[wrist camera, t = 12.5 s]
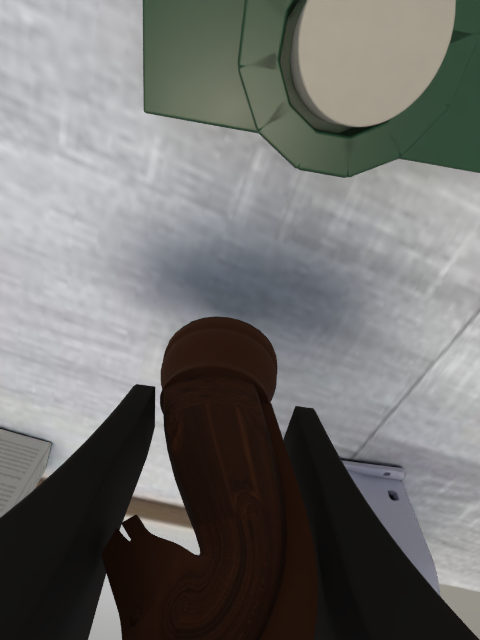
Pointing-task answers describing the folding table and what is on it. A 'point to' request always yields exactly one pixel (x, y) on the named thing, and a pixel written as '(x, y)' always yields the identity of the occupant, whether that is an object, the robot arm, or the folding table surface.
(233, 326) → the chess piece
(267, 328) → the folding table surface
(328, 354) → the folding table surface
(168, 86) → the push button base
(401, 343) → the folding table surface
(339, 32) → the beige short cylinder
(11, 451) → the cosmetic box
